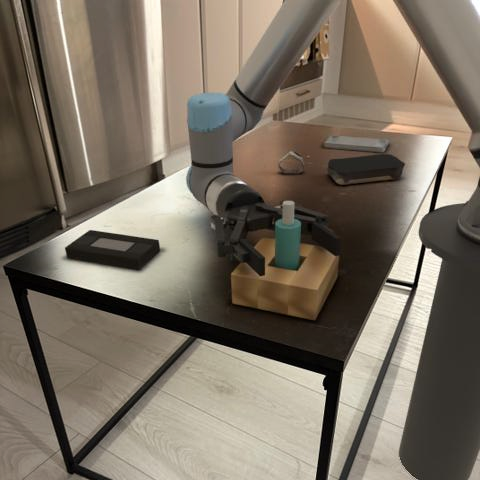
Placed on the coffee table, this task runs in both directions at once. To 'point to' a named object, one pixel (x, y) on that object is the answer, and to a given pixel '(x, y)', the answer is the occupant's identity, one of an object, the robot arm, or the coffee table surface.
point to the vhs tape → (113, 249)
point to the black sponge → (365, 169)
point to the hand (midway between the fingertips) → (301, 257)
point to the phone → (356, 143)
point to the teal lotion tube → (287, 239)
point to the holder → (287, 282)
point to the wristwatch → (295, 158)
